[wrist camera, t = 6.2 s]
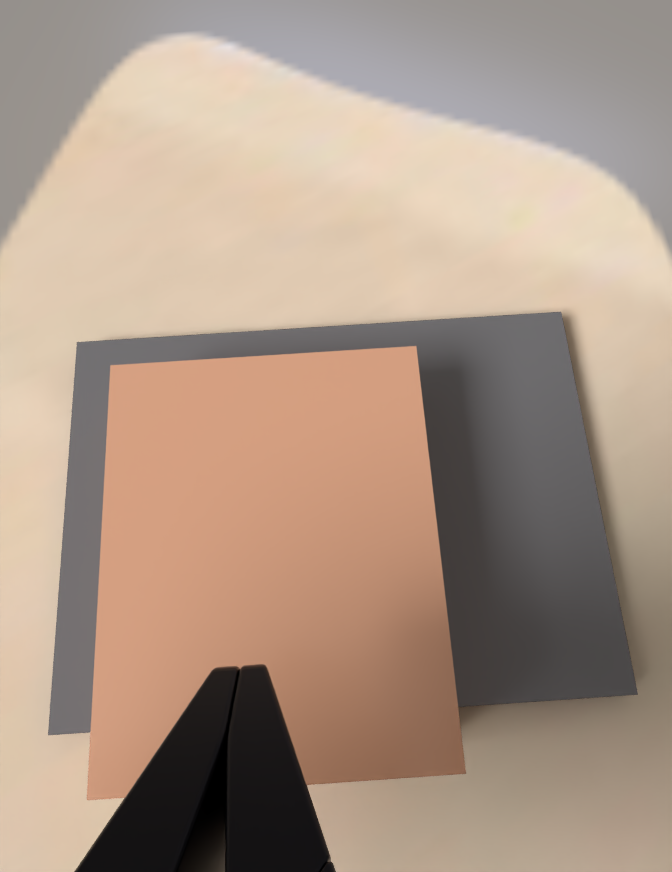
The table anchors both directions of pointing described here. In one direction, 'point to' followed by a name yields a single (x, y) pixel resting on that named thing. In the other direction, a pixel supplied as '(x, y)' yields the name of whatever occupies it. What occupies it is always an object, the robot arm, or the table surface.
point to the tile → (274, 561)
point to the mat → (453, 496)
